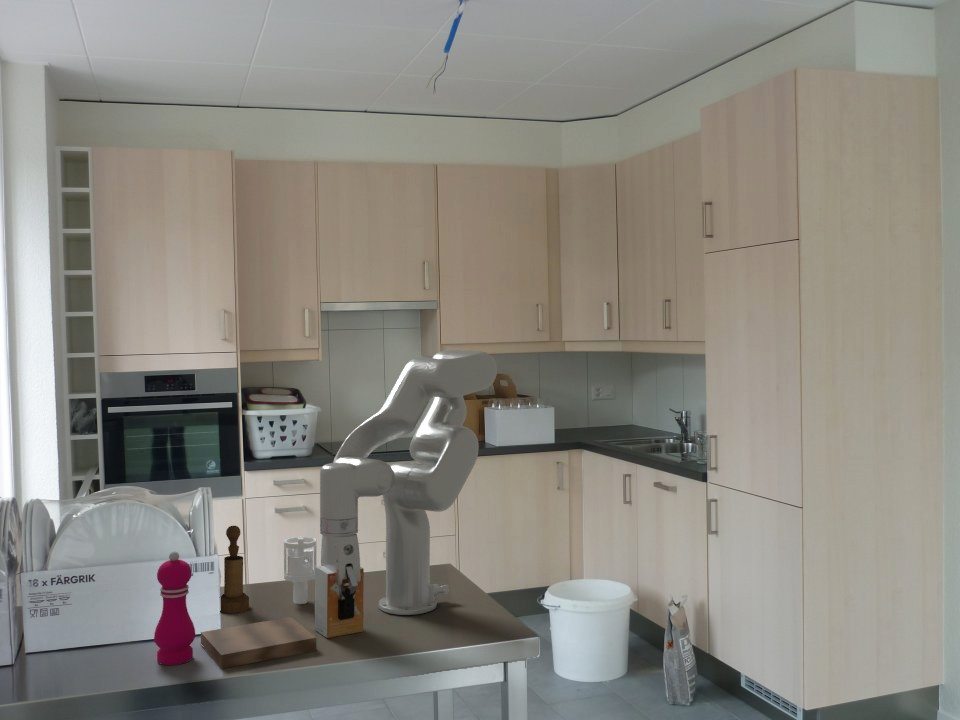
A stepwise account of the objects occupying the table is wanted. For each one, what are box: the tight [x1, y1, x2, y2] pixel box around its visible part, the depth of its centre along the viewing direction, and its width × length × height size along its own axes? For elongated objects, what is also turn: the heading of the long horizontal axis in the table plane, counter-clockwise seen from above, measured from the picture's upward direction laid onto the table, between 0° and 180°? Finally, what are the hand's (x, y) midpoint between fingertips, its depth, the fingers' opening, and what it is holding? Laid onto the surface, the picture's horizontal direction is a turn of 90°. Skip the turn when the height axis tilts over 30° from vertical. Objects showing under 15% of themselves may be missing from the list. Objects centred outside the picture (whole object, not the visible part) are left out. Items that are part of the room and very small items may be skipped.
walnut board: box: [200, 616, 317, 669], centre depth 176 cm, size 18×14×2 cm
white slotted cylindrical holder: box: [283, 535, 317, 605], centre depth 205 cm, size 7×7×15 cm
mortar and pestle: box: [220, 525, 250, 614], centre depth 200 cm, size 7×6×18 cm
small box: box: [314, 565, 365, 639], centre depth 186 cm, size 8×6×13 cm
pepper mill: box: [153, 551, 196, 666], centre depth 170 cm, size 7×7×20 cm
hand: (339, 612), depth 186 cm, fingers closed on small box, 6 cm apart
